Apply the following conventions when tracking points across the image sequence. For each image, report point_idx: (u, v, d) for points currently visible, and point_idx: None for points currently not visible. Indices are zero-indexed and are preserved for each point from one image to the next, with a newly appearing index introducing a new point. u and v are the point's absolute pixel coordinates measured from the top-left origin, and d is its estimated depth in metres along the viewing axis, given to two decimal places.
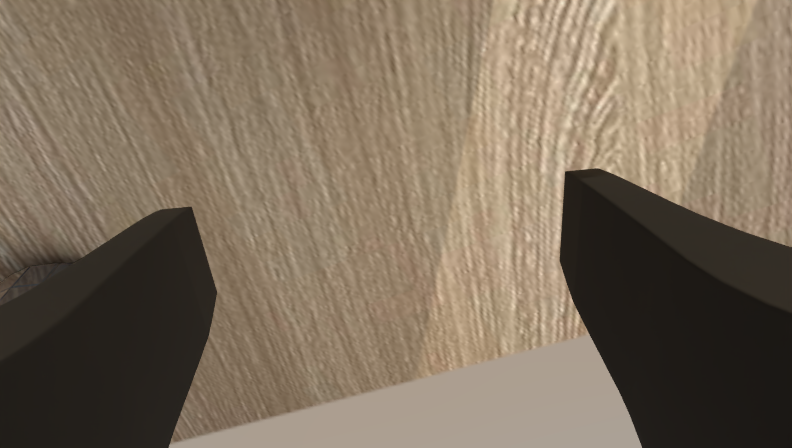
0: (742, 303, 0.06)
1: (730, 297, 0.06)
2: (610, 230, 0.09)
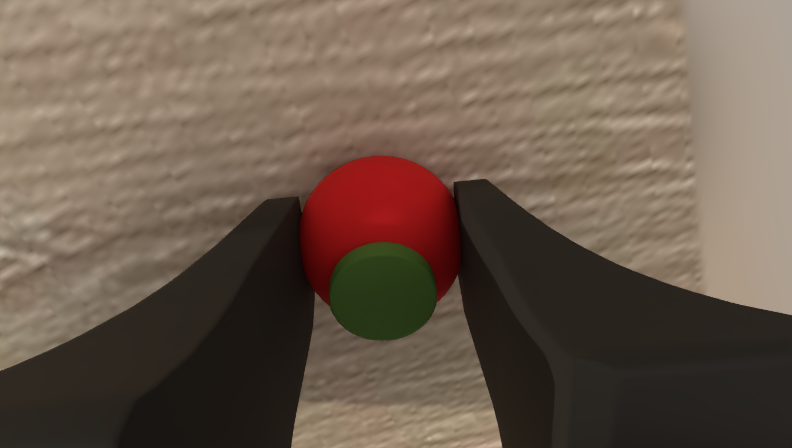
0: (533, 322, 0.06)
1: (528, 316, 0.06)
2: (476, 243, 0.09)
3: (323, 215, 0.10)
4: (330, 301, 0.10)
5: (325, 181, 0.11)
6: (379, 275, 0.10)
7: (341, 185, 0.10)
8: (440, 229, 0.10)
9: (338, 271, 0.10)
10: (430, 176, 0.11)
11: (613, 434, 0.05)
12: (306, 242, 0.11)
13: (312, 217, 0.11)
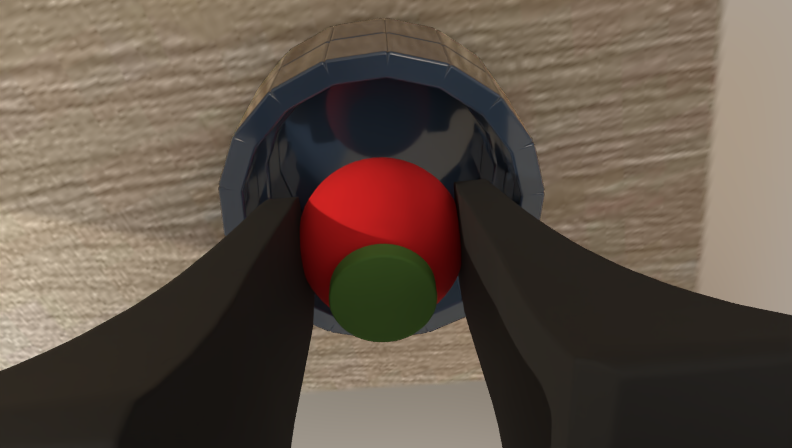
0: (533, 323, 0.06)
1: (528, 316, 0.06)
2: (476, 243, 0.09)
3: (323, 217, 0.10)
4: (330, 303, 0.10)
5: (325, 183, 0.11)
6: (379, 277, 0.10)
7: (341, 187, 0.10)
8: (440, 230, 0.10)
9: (339, 273, 0.10)
10: (430, 178, 0.11)
11: (613, 432, 0.05)
12: (306, 243, 0.11)
13: (312, 219, 0.11)
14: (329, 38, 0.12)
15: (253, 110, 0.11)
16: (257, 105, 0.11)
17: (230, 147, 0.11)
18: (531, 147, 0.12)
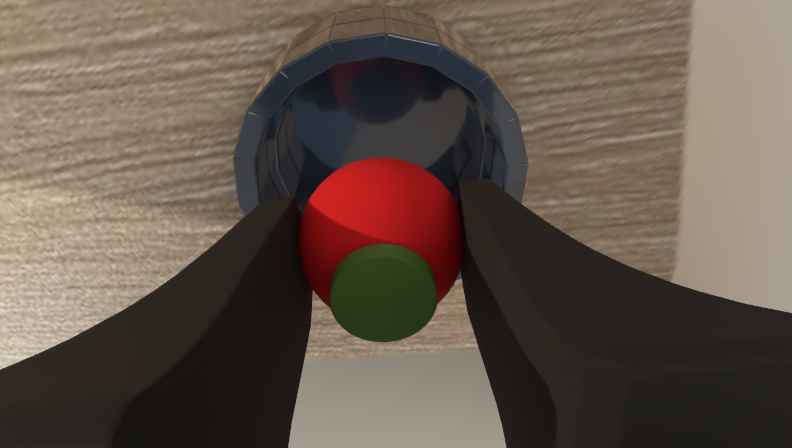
0: (539, 322, 0.06)
1: (534, 315, 0.06)
2: (480, 242, 0.09)
3: (323, 217, 0.10)
4: (330, 303, 0.10)
5: (325, 183, 0.11)
6: (379, 277, 0.10)
7: (341, 187, 0.10)
8: (440, 231, 0.10)
9: (339, 273, 0.10)
10: (430, 178, 0.11)
11: (621, 432, 0.05)
12: (306, 243, 0.11)
13: (312, 219, 0.11)
14: (333, 23, 0.13)
15: (265, 86, 0.12)
16: (269, 82, 0.12)
17: (244, 120, 0.13)
18: (515, 120, 0.13)
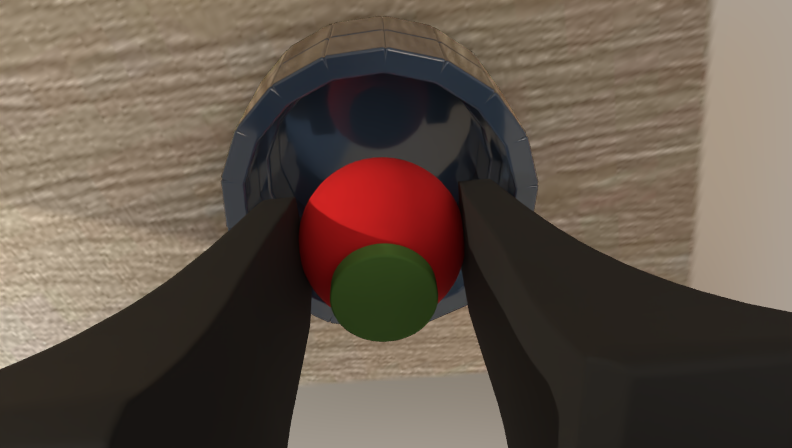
0: (541, 322, 0.06)
1: (537, 315, 0.06)
2: (481, 242, 0.09)
3: (323, 217, 0.10)
4: (331, 302, 0.10)
5: (326, 182, 0.11)
6: (380, 276, 0.10)
7: (342, 186, 0.10)
8: (441, 230, 0.10)
9: (340, 273, 0.10)
10: (430, 177, 0.11)
11: (625, 432, 0.05)
12: (307, 243, 0.11)
13: (313, 218, 0.11)
14: (328, 35, 0.13)
15: (255, 105, 0.11)
16: (259, 100, 0.11)
17: (232, 141, 0.12)
18: (525, 141, 0.12)
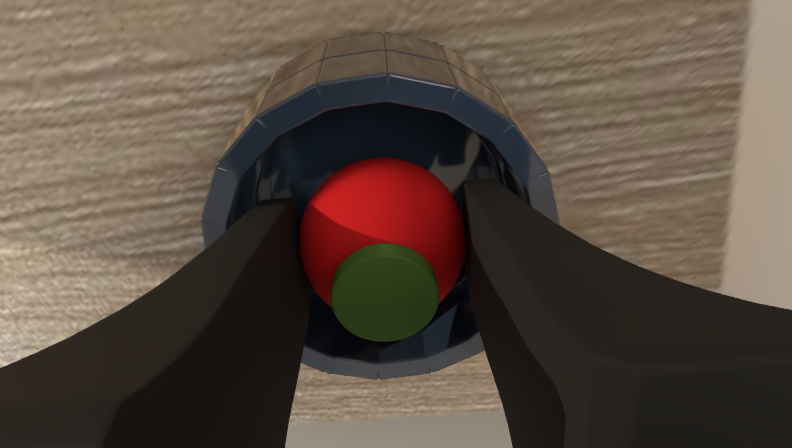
0: (548, 321, 0.06)
1: (543, 314, 0.06)
2: (486, 242, 0.09)
3: (324, 216, 0.10)
4: (332, 302, 0.10)
5: (327, 182, 0.11)
6: (381, 276, 0.10)
7: (343, 186, 0.10)
8: (442, 230, 0.10)
9: (340, 272, 0.10)
10: (431, 177, 0.11)
11: (634, 431, 0.05)
12: (308, 243, 0.11)
13: (314, 218, 0.11)
14: (323, 55, 0.11)
15: (238, 137, 0.10)
16: (242, 132, 0.10)
17: (213, 177, 0.10)
18: (546, 176, 0.11)
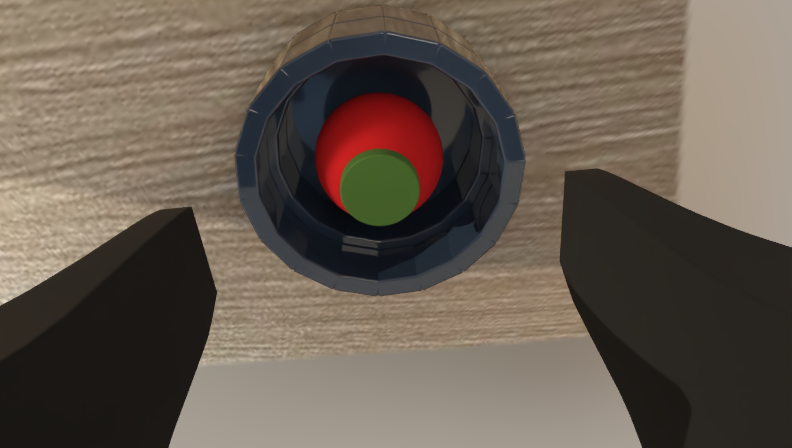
0: (743, 303, 0.06)
1: (730, 297, 0.06)
2: (610, 230, 0.09)
3: (335, 132, 0.14)
4: (341, 193, 0.13)
5: (336, 110, 0.14)
6: (377, 172, 0.13)
7: (348, 110, 0.14)
8: (422, 143, 0.14)
9: (347, 168, 0.13)
10: (416, 106, 0.14)
11: None
12: (322, 154, 0.14)
13: (326, 135, 0.14)
14: (333, 22, 0.14)
15: (266, 84, 0.13)
16: (270, 79, 0.12)
17: (245, 117, 0.13)
18: (513, 118, 0.13)
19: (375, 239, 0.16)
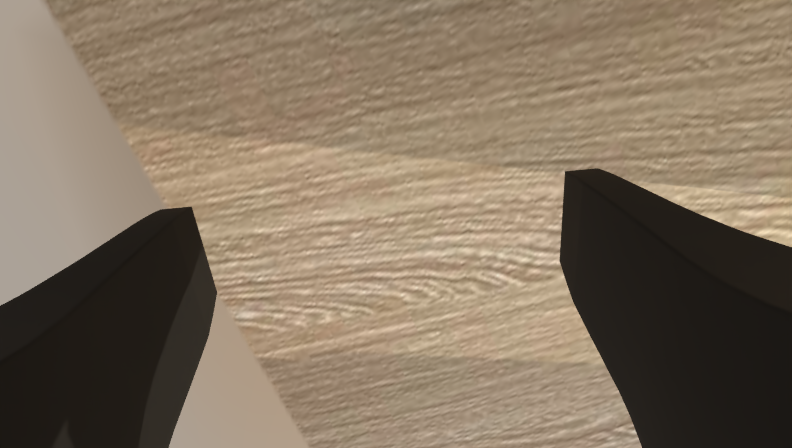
0: (742, 303, 0.06)
1: (730, 297, 0.06)
2: (610, 230, 0.09)
3: None
4: None
5: None
6: None
7: None
8: None
9: None
10: None
11: None
12: None
13: None
14: None
15: None
16: None
17: None
18: None
19: None
